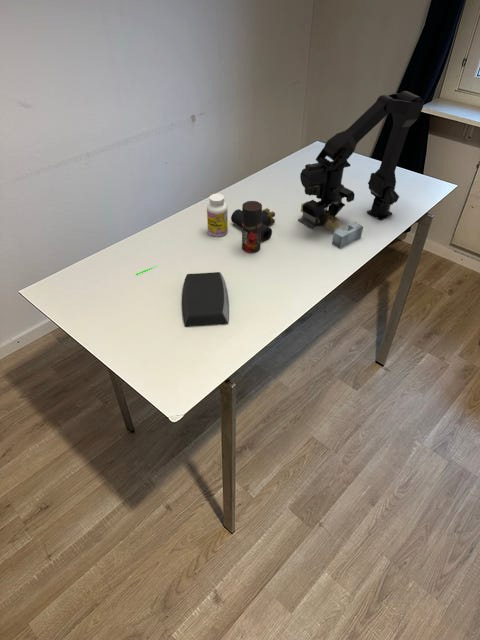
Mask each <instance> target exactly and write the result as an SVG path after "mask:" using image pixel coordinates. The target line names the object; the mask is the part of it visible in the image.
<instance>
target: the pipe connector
mask: <svg viewBox="0 0 480 640" xmlns="http://www.w3.org/2000/svg"><path fill="white" fill-rule="evenodd" d="M275 217H276V212H274V211H273V210H272V211H270V209H269V208H268V207H267V208H264V209H262V221H261V242H262V243H265V242H266V241H268V240H270V239H271V237H272V234H273V230H272V228H271V225H273V224H275V222H276V219H274V218H275ZM230 220H231V222H232V224H234V225H236V226H238V227H239V228H241V229H242V209H239V208H238V209H236V210H234V211H233V212H232V214H231V216H230Z"/></svg>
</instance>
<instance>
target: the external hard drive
mask: <svg viewBox="0 0 480 640" xmlns="http://www.w3.org/2000/svg"><path fill="white" fill-rule="evenodd" d="M181 313H182V320H183V325H184V328H187V327H190V328H191V327H204V326H206V327H207V326H218V324H221V325H229V324H228V323H229V322H230V300H229V292H228V288H227V284H226V279H225V278H224V275H223V274H222V272H220V271H218V272H217V271H215V272H214V271H213V272H200V273H187V274H186V276H185V277H184V281H183V286H182V292H181Z"/></svg>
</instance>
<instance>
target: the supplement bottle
mask: <svg viewBox="0 0 480 640" xmlns="http://www.w3.org/2000/svg"><path fill="white" fill-rule="evenodd" d="M206 219H207V223H206V224H207V233H208V234H209V235H210V236H211V237H216V238H217V237H218V238H219V237H223V236H225V235H226V234H227V233H228V225H229V224H228V222H229V221H228V205H227V203H226V202H225V196H224V195H223V194H221V193H213V194H211V195H210V196H209V202H208V204H207V205H206Z"/></svg>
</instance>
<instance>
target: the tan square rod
mask: <svg viewBox="0 0 480 640" xmlns="http://www.w3.org/2000/svg"><path fill="white" fill-rule="evenodd" d="M306 202H309V200H308V201H305V202H303V203H301V206H300V213H302V214H303V211H302V209H303V204H304V203H306ZM316 221H317V222H319V218H318V217H317V220H316ZM340 221H341V219H340V218H338V217H336V216H333V215H331V214H329V216H328V218H327V220H326V222H325V224H324V226H323V227H325V228H327V229H329V230H331V231H335V230H336V229H338V228H339V227H340ZM319 223H320V222H319Z"/></svg>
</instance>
